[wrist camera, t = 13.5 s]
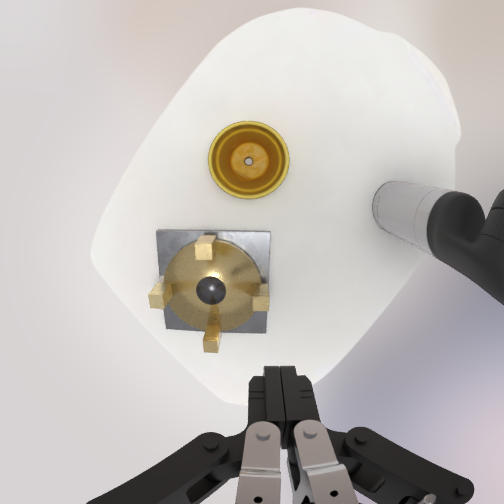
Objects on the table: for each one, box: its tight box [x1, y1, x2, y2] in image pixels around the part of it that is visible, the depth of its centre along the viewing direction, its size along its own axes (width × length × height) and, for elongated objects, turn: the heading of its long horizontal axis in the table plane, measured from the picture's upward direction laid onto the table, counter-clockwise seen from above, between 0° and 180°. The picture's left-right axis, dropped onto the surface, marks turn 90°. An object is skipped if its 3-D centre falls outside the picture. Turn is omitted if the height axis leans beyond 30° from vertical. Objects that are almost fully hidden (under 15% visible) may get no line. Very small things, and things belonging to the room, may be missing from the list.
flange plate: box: [156, 230, 270, 333], centre depth 48 cm, size 19×19×1 cm
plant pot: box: [208, 121, 289, 199], centre depth 38 cm, size 10×10×10 cm
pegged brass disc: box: [148, 235, 269, 353], centre depth 45 cm, size 19×19×6 cm
